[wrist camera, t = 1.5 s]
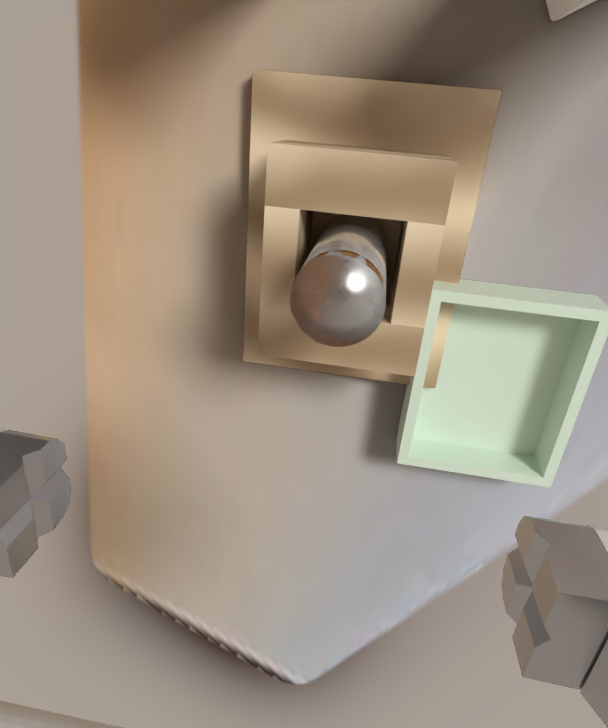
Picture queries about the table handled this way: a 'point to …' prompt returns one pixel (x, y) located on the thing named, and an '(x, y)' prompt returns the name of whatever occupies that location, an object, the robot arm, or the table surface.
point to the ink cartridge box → (564, 7)
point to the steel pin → (342, 283)
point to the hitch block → (360, 207)
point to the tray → (502, 381)
